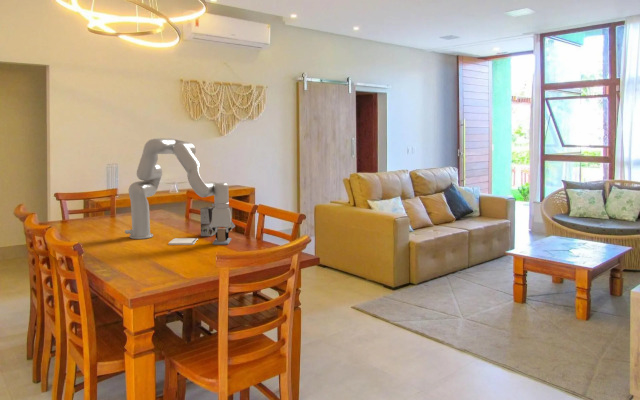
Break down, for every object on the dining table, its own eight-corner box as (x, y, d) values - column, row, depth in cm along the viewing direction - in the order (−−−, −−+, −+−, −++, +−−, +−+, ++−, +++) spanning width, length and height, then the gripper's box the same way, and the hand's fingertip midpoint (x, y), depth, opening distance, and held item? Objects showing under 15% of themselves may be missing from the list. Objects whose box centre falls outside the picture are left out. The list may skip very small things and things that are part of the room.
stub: (212, 244, 260) (212, 231, 259) (216, 239, 272) (216, 227, 271) (228, 244, 261) (227, 231, 260) (231, 239, 273) (231, 227, 272)
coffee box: (211, 236, 281) (210, 208, 279) (200, 236, 282) (199, 208, 280) (217, 233, 290) (216, 206, 288) (207, 233, 291) (206, 206, 289)
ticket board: (168, 244, 260) (168, 242, 259) (174, 239, 271) (174, 237, 271) (193, 244, 260) (193, 242, 260) (198, 239, 272) (198, 237, 272)
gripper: (204, 206, 260) (205, 240, 262) (236, 207, 260) (236, 240, 263) (207, 204, 267) (208, 237, 270) (238, 205, 268) (238, 237, 270)
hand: (222, 238), depth 266 cm, fingers closed on stub, 4 cm apart
